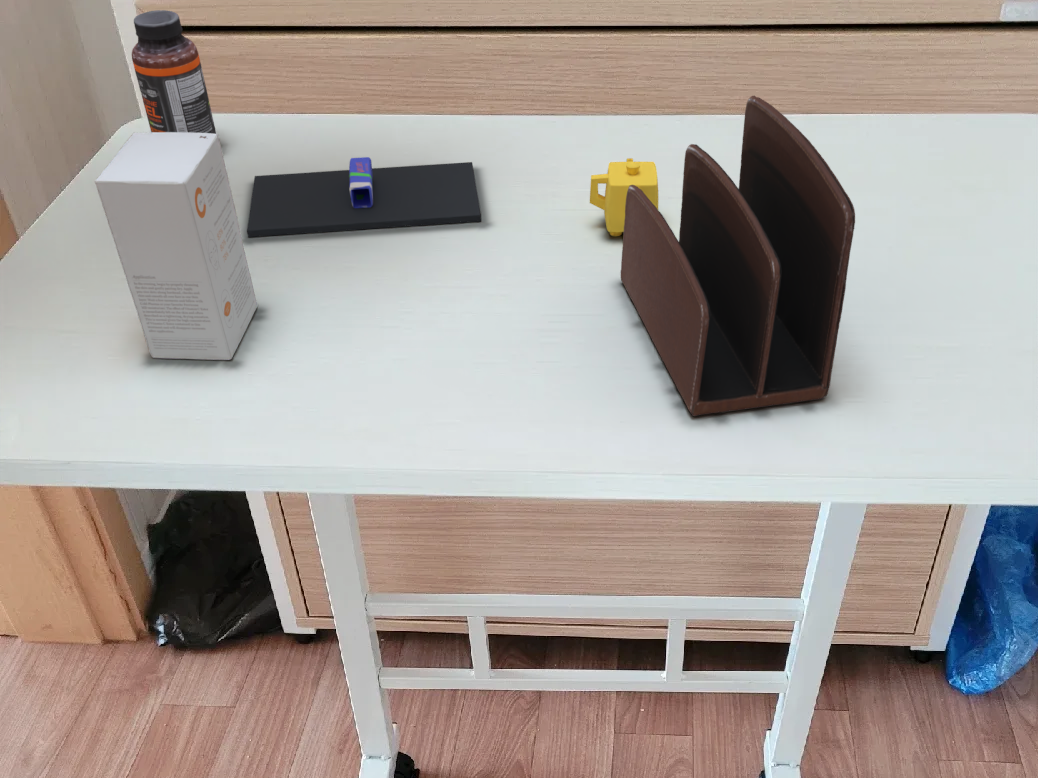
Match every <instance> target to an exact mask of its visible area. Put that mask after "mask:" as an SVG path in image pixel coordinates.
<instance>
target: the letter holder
mask: <svg viewBox="0 0 1038 778" xmlns="http://www.w3.org/2000/svg"><path fill="white" fill-rule="evenodd" d="M684 153H685V154H684V162H683V163H684V164H683V178H682V190H681V191H682V192H681V193H682V195H681V207H680V221H679V233H678V236H679V237H678V238H677V236H676V235H675V233H674V231H673V230H672V228H671V227H670V225H669V223H668V222H667V220H666V218H665V217H664V216H663V214H662V213H661V211H660V210H659V208H658V209H657V208H656V207H655V205H654V204H653V203H652V202H651V201H650V200H649V199H648V197H647V196H646V195H645V194H644V192H643V191H642V190H641V189H639V188H638V187H637V186H635V185H630V186H629V188H628V191H627V196H626V204H625V220H624V232H623V233H622V234H623V237H622V238H623V239H622V248H621V249H622V250H621V260H620V261H621V263H620V280H621V283H622V284H623V286H624V288H625V290H626V291H627V294H628V295H629V298H630V300H631V302H632V303H633V305H634V307H635V309H636V311H637V313H638V315H639V317H640V319H641V322H642V323H643V325H644V326H645V329H646V331H647V333H648V335H649V336H650V339H651V340H652V342H653V344H654V347H655V348H656V350H657V353H658V354H659V356H660V358H661V360H662V362H663V364H664V366H665V369H666V370H667V372H668V373H669V375H670V378H671V379H672V381H673V383H674V385H675V387H676V388H677V391H678V393H679V394H680V396H681V398H682V400H683V401H684V403H685V404H684V405H685V406H686V408H687V410H688V411H689V413H690V414H691V415H692V416H693V417H697V416H704V415H712V414H719V413H728V412H729V413H730V412H735V411H742V410H743V411H744V410H749V409H757V408H765V407H773V406H782V405H787V404H793V403H796V404H797V403H801V402H808V401H809V402H810V401H818V400H823V399H825V398H826V397H827V396H828V394H829V390H830V386H831V381H832V372H833V366H834V360H835V354H836V349H837V342H838V341H837V340H838V334H839V329H840V323H841V318H842V314H843V313H842V312H843V308H844V302H845V301H844V300H845V296H846V295H845V294H846V289H847V288H846V287H847V279H848V278H847V277H848V272H849V271H848V270H849V263H850V255H851V250H852V244H853V239H854V232H855V225H856V210H855V207H854V206H855V205H854V203H853V202H852V199H851V198H850V196H849V195H848V193H847V192H846V190H845V189H844V187H843V185H842V184H841V182H840V181H839V179H838V177H837V176H836V175H835V173H834V172H833V170H832V169H831V166H829V164H828V163H827V161H826V160H825V158H824V157H823V156H822V154H821V153H820V152H819V151H818V150H817V149H816V147H815V145H813V144H812V142H811V141H810V140H809V139H808V138H807V137H806V136H805V135H804V133H802V131H800V129H798V127H796V125H794V123H792V122H791V121H790V120H789V119H788V118H787V117H786V116H785V115H784V114H783V113H781V112H780V111H779V110H778V109H777V108H776V107H774V106H773V105H772V104H770V103H769V102H767V101H766V100H764V99H762V98H761V97H759V96H755V95H751V96H750V97H749V98H748V99H747V101H746V104H745V110H744V120H743V132H742V143H741V155H740V169H739V181H738V186H737V184H736V183H735V182H734V180H733V179H732V178H731V177H730V175H729V174H727V171H725V169H724V168H722V166H721V165H720V164H719V162H717V161H716V159H714V158H713V157H712V156H711V155H710V153H708V152H707V151H705V150H704V149H702V147H700V146H699V145H698V144H693V143H690V144H689V145H688V146H687V148H686V150H685V152H684Z"/></svg>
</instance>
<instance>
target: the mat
mask: <svg viewBox="0 0 1038 778" xmlns="http://www.w3.org/2000/svg"><path fill="white" fill-rule="evenodd" d="M474 171H475V170H474V165H473V162H472V161H467V162H466V161H465V162H451V163H450V162H449V163H435V164H421V165H419V164H418V165H406V166H405V165H403V166H388V167H374V168H373V167H372V175H373V179H372V186H373V205H372V207H366V208H353V206H352V202H351V196H350V191H349V187H350V175H349V169H340V170H328V171H327V170H325V171H310V172H295V173H281V174H280V173H278V174H266V175H265V174H264V175H254V179H253V186H252V192H251V200H250V206H249V213H248V222H247V229H246V233H247V237H248V238H254V237H255V238H257V237H271V236H285V235H299V234H316V233H328V232H331V233H332V232H345V231H359V230H375V229H376V230H377V229H389V228H405V227H418V226H431V225H432V226H434V225H435V226H436V225H449V224H462V223H463V224H464V223H479V222H482V214H481V207H480V201H479V194H478V189H477V183H476V177H475V172H474Z"/></svg>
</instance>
